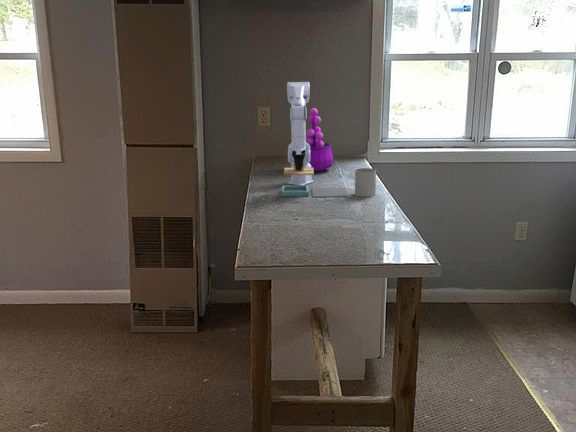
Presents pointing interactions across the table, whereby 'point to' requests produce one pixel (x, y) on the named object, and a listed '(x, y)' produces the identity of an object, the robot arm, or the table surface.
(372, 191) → the cup
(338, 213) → the table surface
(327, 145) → the decorative plant
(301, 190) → the teal dish
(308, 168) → the oak cover
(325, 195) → the rubber mat
